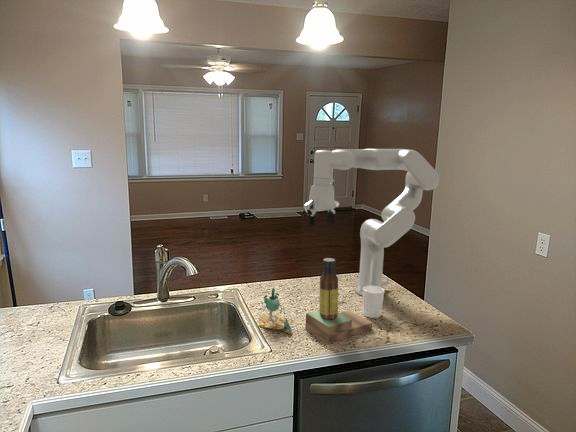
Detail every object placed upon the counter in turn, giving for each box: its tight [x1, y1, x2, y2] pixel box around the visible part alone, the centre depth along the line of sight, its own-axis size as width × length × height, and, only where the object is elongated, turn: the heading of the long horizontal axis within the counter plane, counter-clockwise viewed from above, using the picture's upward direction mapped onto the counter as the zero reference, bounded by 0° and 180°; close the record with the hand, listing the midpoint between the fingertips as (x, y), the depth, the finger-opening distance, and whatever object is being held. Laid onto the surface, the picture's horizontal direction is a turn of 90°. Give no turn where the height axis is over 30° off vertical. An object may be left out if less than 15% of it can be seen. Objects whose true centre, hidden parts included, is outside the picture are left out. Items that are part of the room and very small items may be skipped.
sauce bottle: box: [319, 257, 339, 319], centre depth 142 cm, size 7×6×20 cm
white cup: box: [362, 286, 385, 319], centre depth 160 cm, size 8×8×10 cm
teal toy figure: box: [258, 287, 293, 335], centre depth 149 cm, size 10×18×15 cm, turn 30°
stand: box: [304, 308, 374, 345], centre depth 147 cm, size 20×12×6 cm, turn 125°
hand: (321, 224), depth 172 cm, fingers open, 9 cm apart
